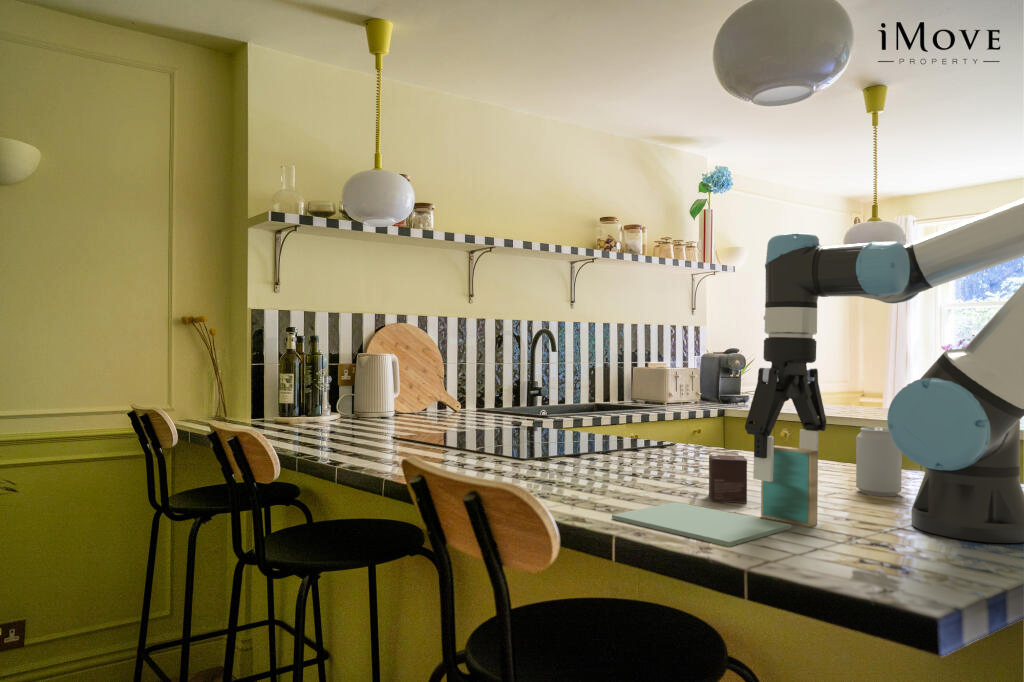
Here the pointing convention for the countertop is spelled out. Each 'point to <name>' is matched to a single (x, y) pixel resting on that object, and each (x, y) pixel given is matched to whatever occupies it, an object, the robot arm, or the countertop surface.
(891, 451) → the can
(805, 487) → the tile
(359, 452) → the countertop surface
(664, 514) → the mat
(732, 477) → the box
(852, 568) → the countertop surface
